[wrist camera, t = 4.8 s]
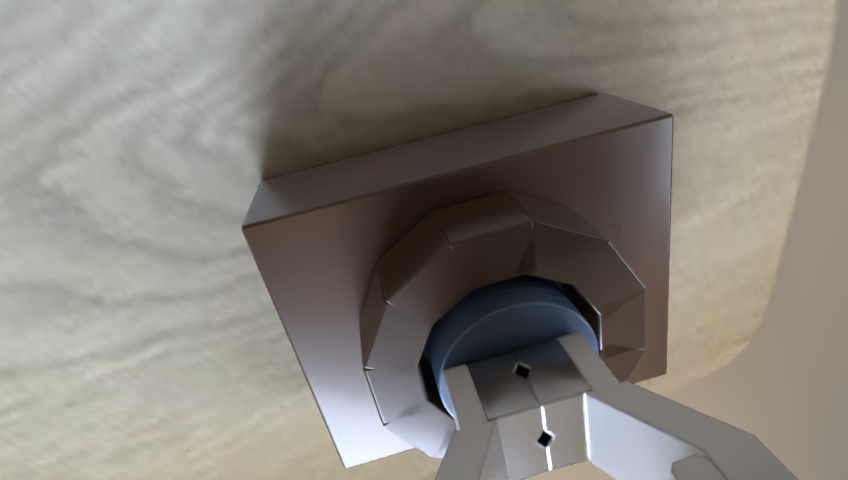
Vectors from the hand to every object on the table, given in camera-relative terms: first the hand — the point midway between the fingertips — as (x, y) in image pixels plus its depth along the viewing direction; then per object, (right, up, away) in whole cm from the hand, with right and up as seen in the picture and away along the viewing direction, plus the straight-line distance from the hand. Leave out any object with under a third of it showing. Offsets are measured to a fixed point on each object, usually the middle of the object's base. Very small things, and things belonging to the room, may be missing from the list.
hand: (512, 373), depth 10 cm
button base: (-1, +2, +5) cm, 6 cm away
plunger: (0, +1, +2) cm, 2 cm away
